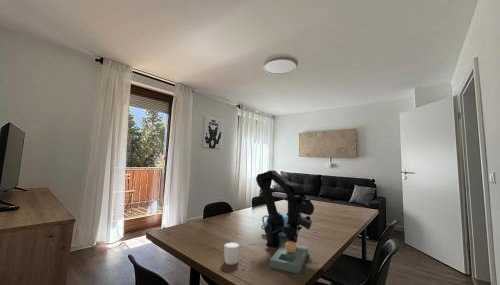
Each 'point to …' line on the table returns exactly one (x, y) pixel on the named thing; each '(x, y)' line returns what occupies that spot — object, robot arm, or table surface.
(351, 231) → the table surface
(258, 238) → the table surface
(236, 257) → the white cylinder
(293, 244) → the ball
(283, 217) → the decorative pot
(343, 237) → the table surface
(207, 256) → the table surface
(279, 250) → the deck
